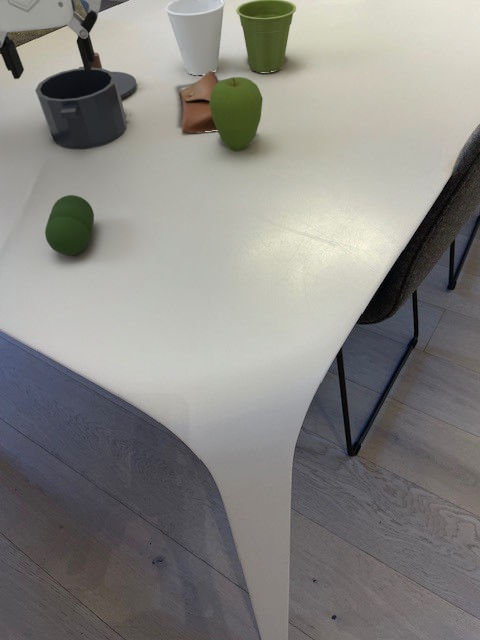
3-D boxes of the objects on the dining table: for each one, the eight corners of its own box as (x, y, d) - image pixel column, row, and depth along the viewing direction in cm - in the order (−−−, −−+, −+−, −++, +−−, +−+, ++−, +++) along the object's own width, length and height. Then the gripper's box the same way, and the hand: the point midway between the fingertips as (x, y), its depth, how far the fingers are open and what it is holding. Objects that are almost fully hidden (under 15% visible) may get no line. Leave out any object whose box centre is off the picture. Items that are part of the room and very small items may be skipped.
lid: (60, 110, 98) (48, 72, 92) (73, 80, 108) (62, 44, 102) (134, 103, 98) (125, 65, 92) (139, 74, 107) (132, 38, 102)
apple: (248, 165, 79) (244, 93, 71) (204, 154, 83) (195, 84, 74) (272, 140, 84) (271, 70, 76) (230, 131, 87) (224, 63, 79)
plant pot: (254, 83, 101) (251, 22, 92) (231, 64, 108) (226, 5, 100) (304, 71, 103) (307, 10, 95) (279, 53, 111) (279, -5, 103)
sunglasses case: (176, 91, 99) (189, 59, 95) (208, 105, 102) (221, 74, 98) (181, 133, 87) (196, 98, 83) (217, 148, 90) (233, 115, 86)
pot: (42, 160, 85) (23, 111, 78) (63, 110, 98) (48, 65, 91) (121, 153, 85) (108, 104, 78) (131, 104, 97) (121, 59, 91)
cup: (164, 77, 106) (153, 11, 96) (191, 56, 113) (183, -7, 103) (213, 84, 102) (207, 16, 93) (238, 62, 109) (234, -3, 99)
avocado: (91, 261, 66) (78, 227, 61) (49, 265, 66) (34, 231, 61) (101, 218, 72) (90, 185, 68) (63, 222, 72) (49, 188, 68)
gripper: (-88, -74, 52) (-16, 89, 65) (73, -91, 53) (114, 75, 65) (-65, -87, 58) (-2, 67, 70) (82, -102, 58) (119, 54, 70)
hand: (54, 71), depth 68 cm, fingers open, 9 cm apart
